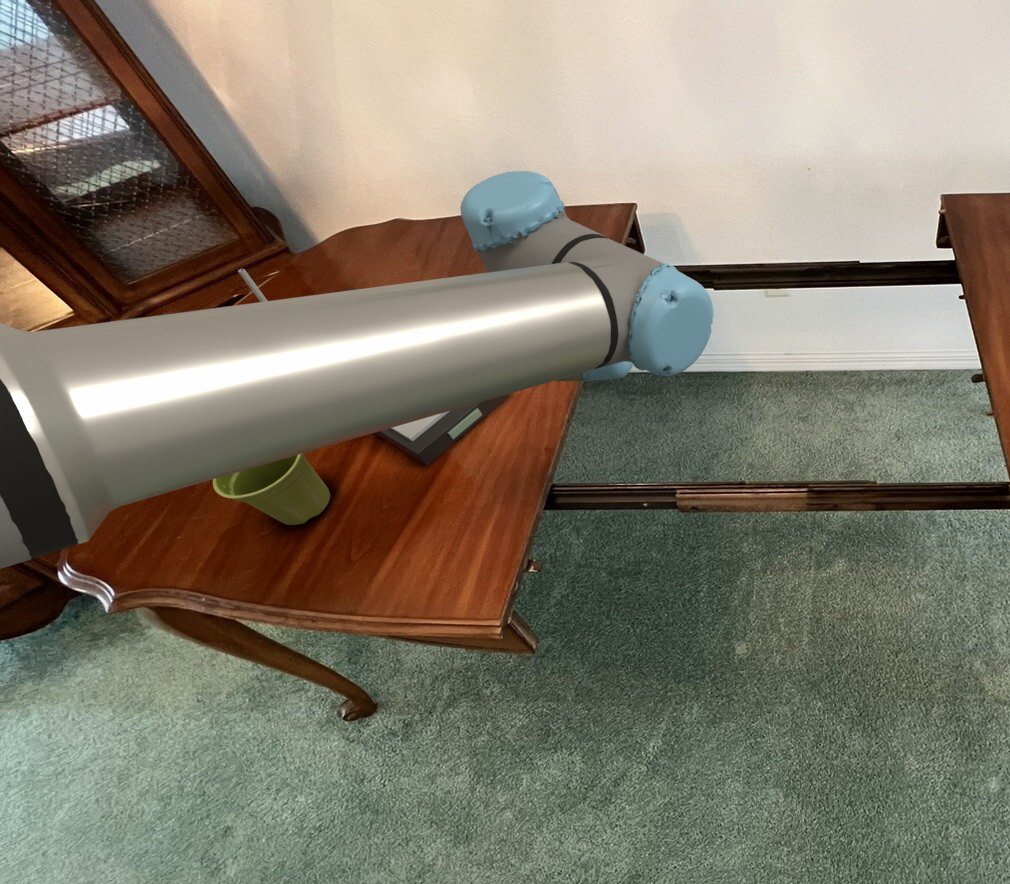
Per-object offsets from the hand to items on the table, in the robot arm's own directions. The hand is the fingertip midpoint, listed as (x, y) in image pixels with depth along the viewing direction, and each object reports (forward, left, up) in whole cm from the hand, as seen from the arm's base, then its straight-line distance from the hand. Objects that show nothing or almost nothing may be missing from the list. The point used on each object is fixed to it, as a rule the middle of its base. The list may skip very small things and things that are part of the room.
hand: (248, 346), depth 66 cm
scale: (+12, +6, -24) cm, 28 cm away
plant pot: (-7, +7, -24) cm, 26 cm away
